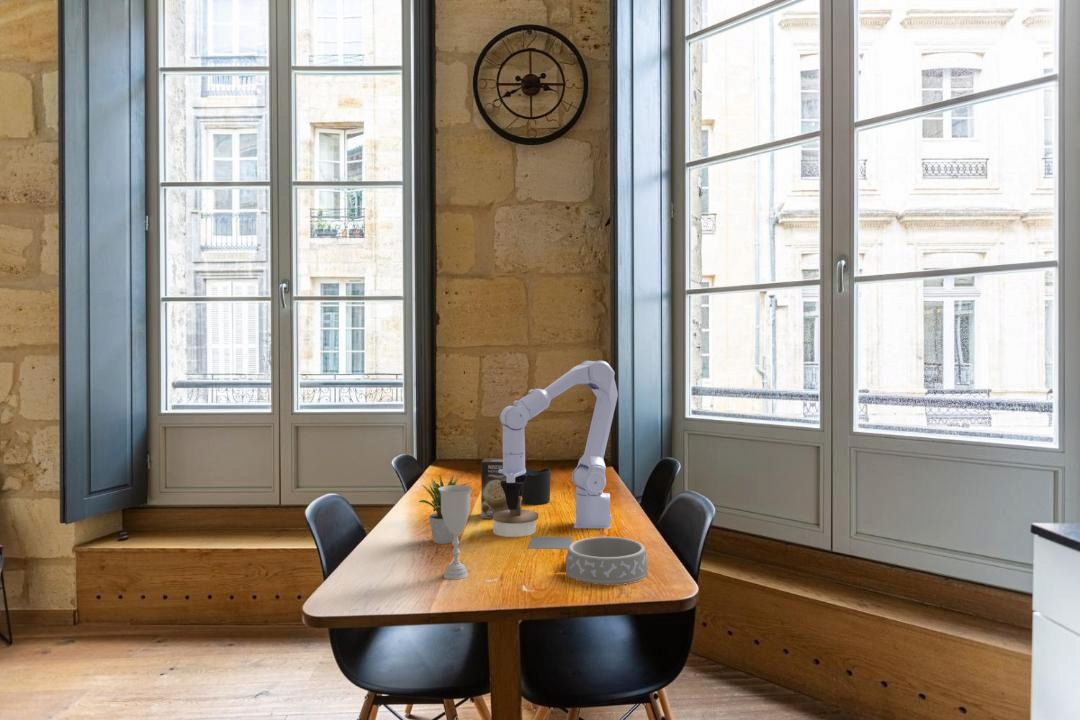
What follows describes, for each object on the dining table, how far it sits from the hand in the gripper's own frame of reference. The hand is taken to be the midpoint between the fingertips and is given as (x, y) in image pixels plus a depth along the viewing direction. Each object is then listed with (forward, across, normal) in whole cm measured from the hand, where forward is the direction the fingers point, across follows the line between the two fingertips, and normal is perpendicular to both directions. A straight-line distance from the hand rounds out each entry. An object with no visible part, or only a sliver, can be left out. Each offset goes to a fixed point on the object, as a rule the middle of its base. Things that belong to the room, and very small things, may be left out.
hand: (514, 505), depth 167 cm
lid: (+3, 0, 0) cm, 3 cm away
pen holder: (+7, -37, +2) cm, 38 cm away
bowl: (+7, 0, 0) cm, 7 cm away
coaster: (+7, +10, +10) cm, 16 cm away
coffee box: (+7, -18, -7) cm, 21 cm away
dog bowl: (+8, +28, +23) cm, 37 cm away
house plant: (+7, +9, -16) cm, 20 cm away
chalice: (+7, +33, -8) cm, 35 cm away
